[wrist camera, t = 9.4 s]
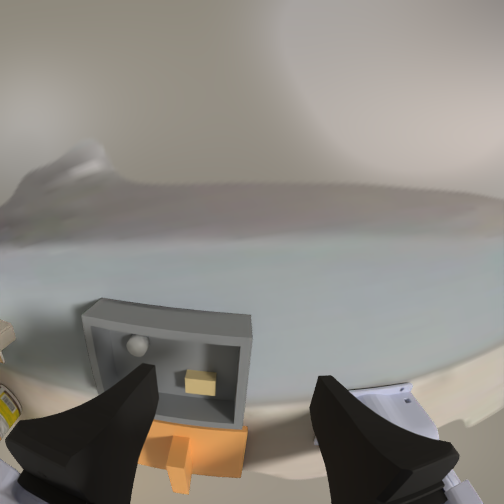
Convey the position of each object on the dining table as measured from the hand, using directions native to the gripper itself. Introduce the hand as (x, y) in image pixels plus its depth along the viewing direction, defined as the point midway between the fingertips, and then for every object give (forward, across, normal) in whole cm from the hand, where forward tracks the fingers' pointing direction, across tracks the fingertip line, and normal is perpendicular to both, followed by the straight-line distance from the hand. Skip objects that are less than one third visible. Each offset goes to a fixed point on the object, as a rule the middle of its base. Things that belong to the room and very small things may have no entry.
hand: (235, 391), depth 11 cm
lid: (+10, +4, +17) cm, 20 cm away
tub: (+9, +5, +5) cm, 12 cm away
